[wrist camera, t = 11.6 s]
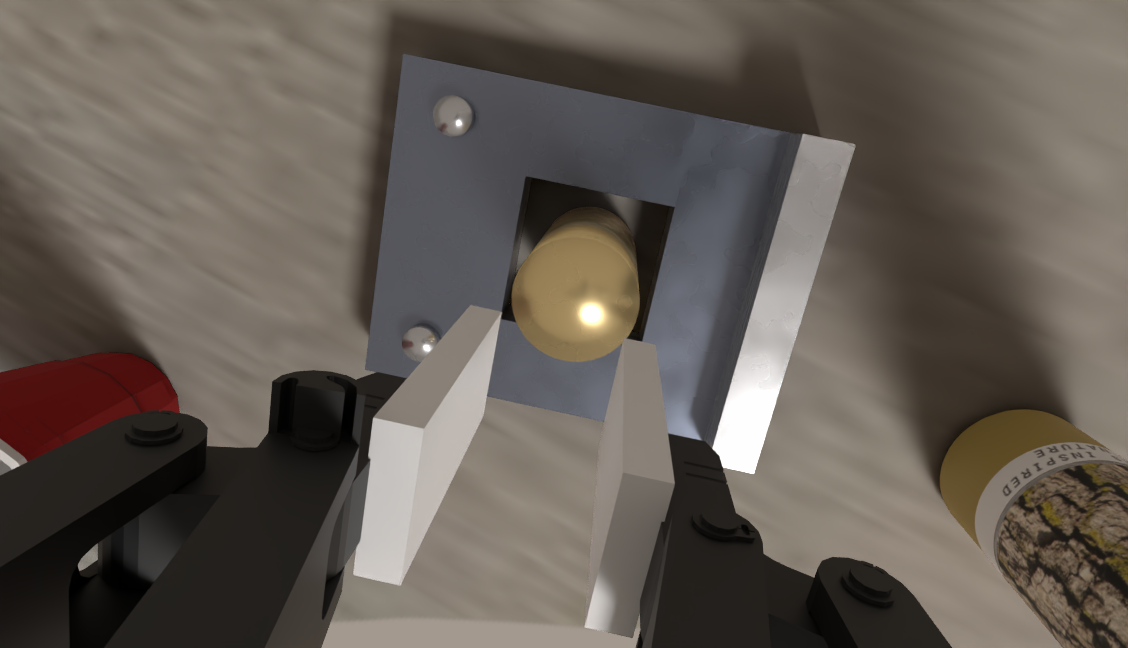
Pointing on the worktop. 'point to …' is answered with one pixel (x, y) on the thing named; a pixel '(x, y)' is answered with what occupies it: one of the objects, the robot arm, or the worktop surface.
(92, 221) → the worktop surface
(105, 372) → the plastic cup
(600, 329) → the brass cylinder
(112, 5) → the worktop surface
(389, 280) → the jig
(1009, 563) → the paper tube
